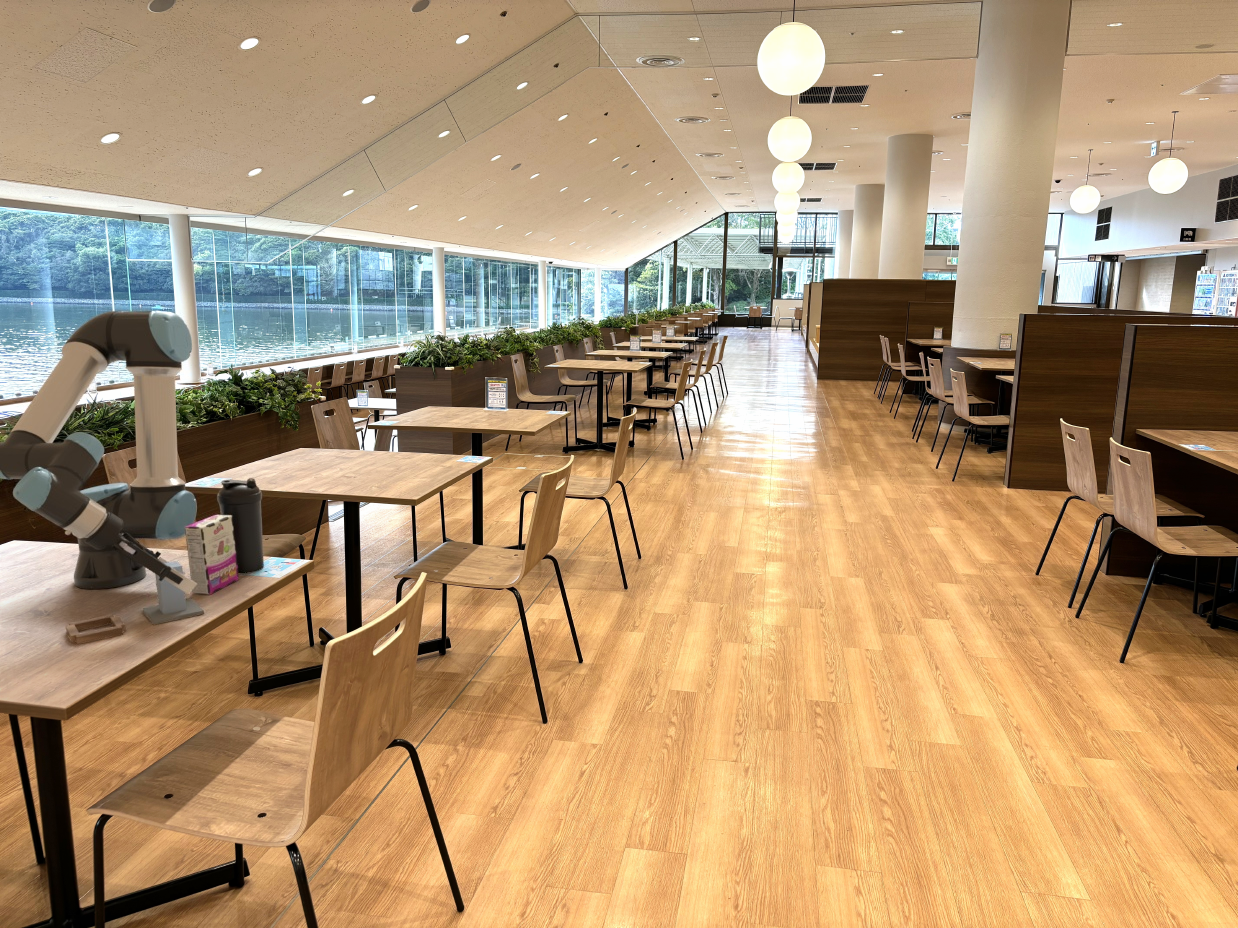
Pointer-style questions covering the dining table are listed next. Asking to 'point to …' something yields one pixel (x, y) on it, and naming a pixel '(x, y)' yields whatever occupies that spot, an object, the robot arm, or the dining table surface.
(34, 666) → the dining table surface
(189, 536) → the candy bar box
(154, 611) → the grey rubber mat
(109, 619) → the walnut pocket frame
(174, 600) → the dusty blue painted block
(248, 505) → the water bottle
